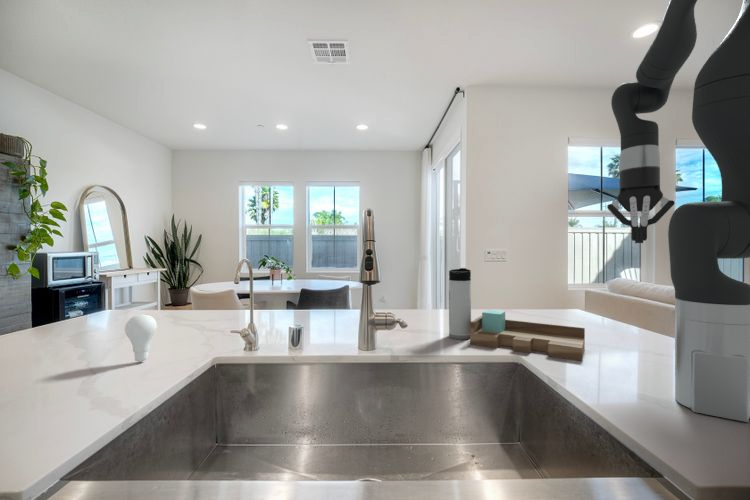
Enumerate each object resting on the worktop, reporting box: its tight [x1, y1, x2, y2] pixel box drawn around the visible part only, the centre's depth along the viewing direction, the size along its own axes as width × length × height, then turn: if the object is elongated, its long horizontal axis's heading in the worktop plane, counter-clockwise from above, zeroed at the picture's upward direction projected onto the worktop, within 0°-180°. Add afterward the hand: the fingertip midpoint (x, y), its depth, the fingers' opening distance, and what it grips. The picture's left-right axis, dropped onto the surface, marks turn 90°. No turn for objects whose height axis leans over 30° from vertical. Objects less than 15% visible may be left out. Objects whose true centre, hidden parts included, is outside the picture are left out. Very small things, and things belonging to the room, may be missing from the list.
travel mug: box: [448, 267, 472, 341], centre depth 102 cm, size 6×7×20 cm
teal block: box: [481, 309, 506, 333], centre depth 97 cm, size 5×5×5 cm
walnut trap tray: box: [469, 315, 586, 362], centre depth 91 cm, size 11×26×6 cm, turn 56°
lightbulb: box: [124, 313, 158, 363], centre depth 80 cm, size 6×6×11 cm
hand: (639, 243), depth 81 cm, fingers closed
